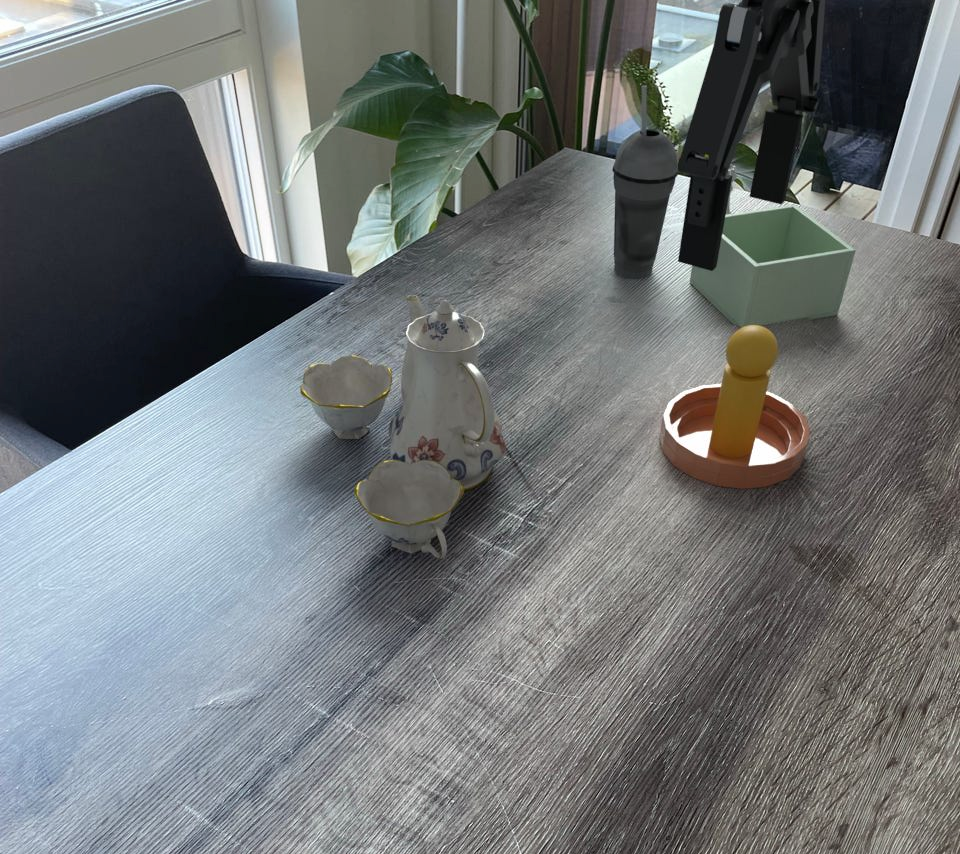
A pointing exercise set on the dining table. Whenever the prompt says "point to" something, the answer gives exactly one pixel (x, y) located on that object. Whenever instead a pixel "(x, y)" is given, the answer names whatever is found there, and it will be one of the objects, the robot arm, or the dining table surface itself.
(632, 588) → the dining table surface
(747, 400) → the toy figure
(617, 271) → the beverage cup
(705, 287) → the bin
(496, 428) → the chinaware
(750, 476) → the bowl
